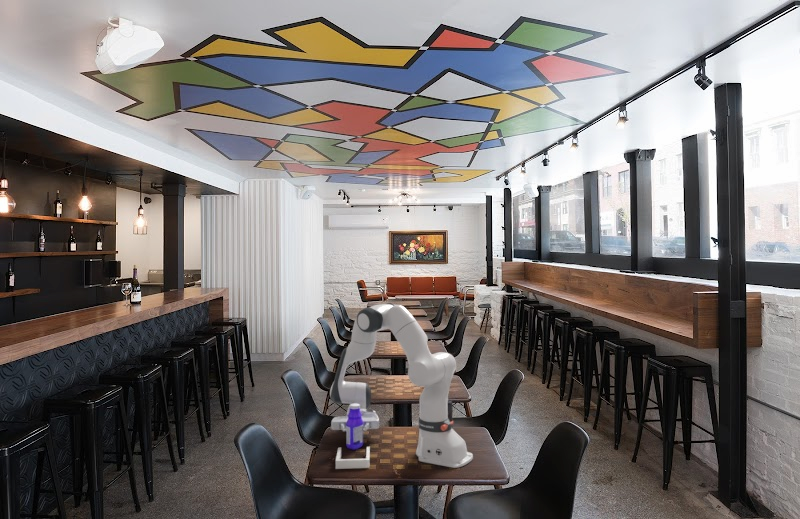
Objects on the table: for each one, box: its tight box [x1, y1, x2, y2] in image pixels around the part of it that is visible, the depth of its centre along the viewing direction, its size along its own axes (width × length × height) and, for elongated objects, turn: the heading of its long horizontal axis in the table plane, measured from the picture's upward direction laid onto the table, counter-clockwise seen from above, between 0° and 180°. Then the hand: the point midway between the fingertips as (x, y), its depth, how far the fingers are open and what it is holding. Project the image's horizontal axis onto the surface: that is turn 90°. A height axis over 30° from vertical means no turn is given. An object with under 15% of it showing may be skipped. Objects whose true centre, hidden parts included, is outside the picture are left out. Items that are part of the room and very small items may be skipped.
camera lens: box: [448, 397, 454, 428], centre depth 210 cm, size 8×8×15 cm
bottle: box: [345, 403, 364, 450], centre depth 197 cm, size 7×6×17 cm
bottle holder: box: [335, 446, 371, 470], centre depth 183 cm, size 12×12×3 cm
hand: (354, 429), depth 196 cm, fingers closed on bottle, 7 cm apart
